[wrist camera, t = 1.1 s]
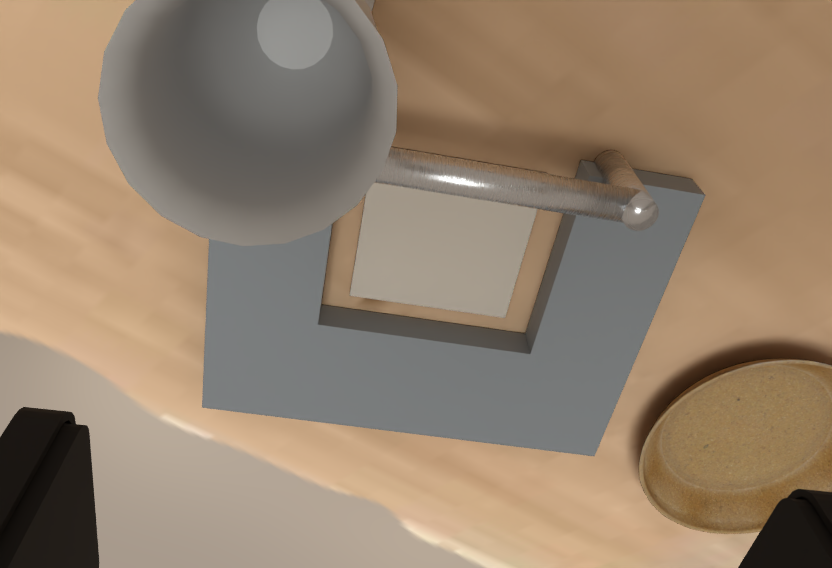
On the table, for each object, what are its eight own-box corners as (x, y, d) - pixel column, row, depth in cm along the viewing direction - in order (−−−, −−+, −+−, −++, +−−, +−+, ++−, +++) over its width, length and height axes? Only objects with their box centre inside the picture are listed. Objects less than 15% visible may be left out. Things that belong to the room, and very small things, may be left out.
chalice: (324, 94, 35) (266, 293, 20) (209, -10, 33) (39, 126, 17) (432, -23, 33) (460, 103, 17) (315, -146, 30) (226, -127, 15)
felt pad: (547, 173, 38) (547, 174, 37) (504, 316, 42) (504, 318, 42) (374, 144, 37) (373, 145, 36) (349, 293, 41) (349, 295, 41)
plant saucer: (716, 534, 53) (730, 565, 51) (581, 435, 48) (591, 464, 45) (904, 418, 47) (929, 447, 45) (775, 291, 42) (796, 316, 40)
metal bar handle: (629, 152, 37) (664, 201, 32) (618, 181, 38) (651, 233, 33) (301, 95, 35) (285, 138, 30) (298, 127, 36) (282, 173, 31)
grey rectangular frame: (691, 178, 38) (705, 195, 36) (587, 433, 47) (594, 456, 45) (223, 98, 35) (214, 112, 34) (209, 385, 44) (202, 407, 43)
